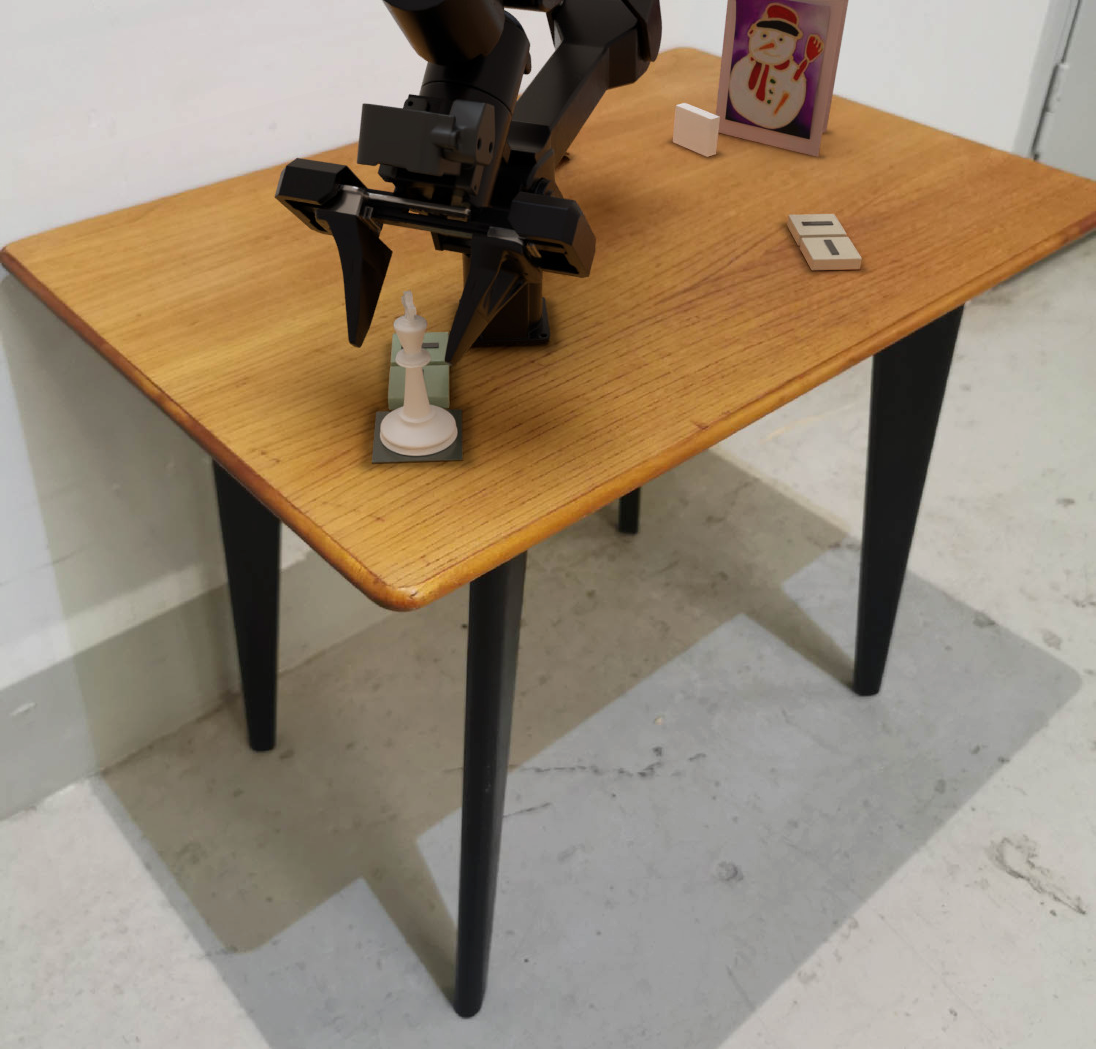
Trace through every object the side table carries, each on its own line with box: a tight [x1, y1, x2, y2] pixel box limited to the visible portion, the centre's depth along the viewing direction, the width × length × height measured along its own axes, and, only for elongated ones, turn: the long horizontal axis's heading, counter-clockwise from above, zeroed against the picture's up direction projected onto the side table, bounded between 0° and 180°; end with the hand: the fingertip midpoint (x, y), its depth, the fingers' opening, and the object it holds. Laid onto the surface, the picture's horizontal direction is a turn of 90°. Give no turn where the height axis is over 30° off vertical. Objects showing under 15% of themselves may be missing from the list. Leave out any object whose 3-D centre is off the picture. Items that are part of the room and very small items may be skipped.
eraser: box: [672, 102, 720, 158], centre depth 109 cm, size 1×5×4 cm, turn 38°
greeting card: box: [715, 0, 849, 158], centre depth 108 cm, size 11×7×15 cm, turn 55°
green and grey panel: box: [371, 331, 464, 464], centre depth 75 cm, size 14×6×1 cm, turn 4°
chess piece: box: [380, 290, 457, 456], centre depth 69 cm, size 5×5×10 cm
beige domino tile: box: [786, 213, 863, 271], centre depth 93 cm, size 8×4×1 cm, turn 4°
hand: (401, 355), depth 67 cm, fingers open, 6 cm apart
